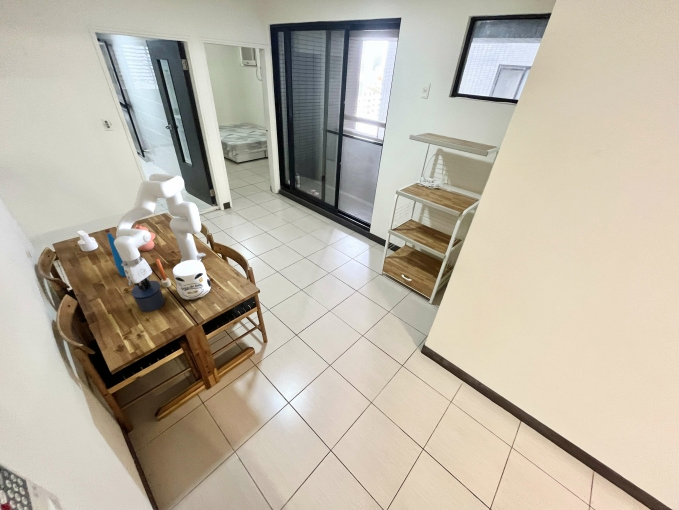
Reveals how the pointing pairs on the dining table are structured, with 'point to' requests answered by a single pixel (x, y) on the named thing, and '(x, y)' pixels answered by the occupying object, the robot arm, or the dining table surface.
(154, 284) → the tin lid
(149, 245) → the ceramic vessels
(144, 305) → the tin
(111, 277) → the dining table surface
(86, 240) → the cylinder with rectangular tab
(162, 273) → the brush
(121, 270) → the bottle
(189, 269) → the milk container
